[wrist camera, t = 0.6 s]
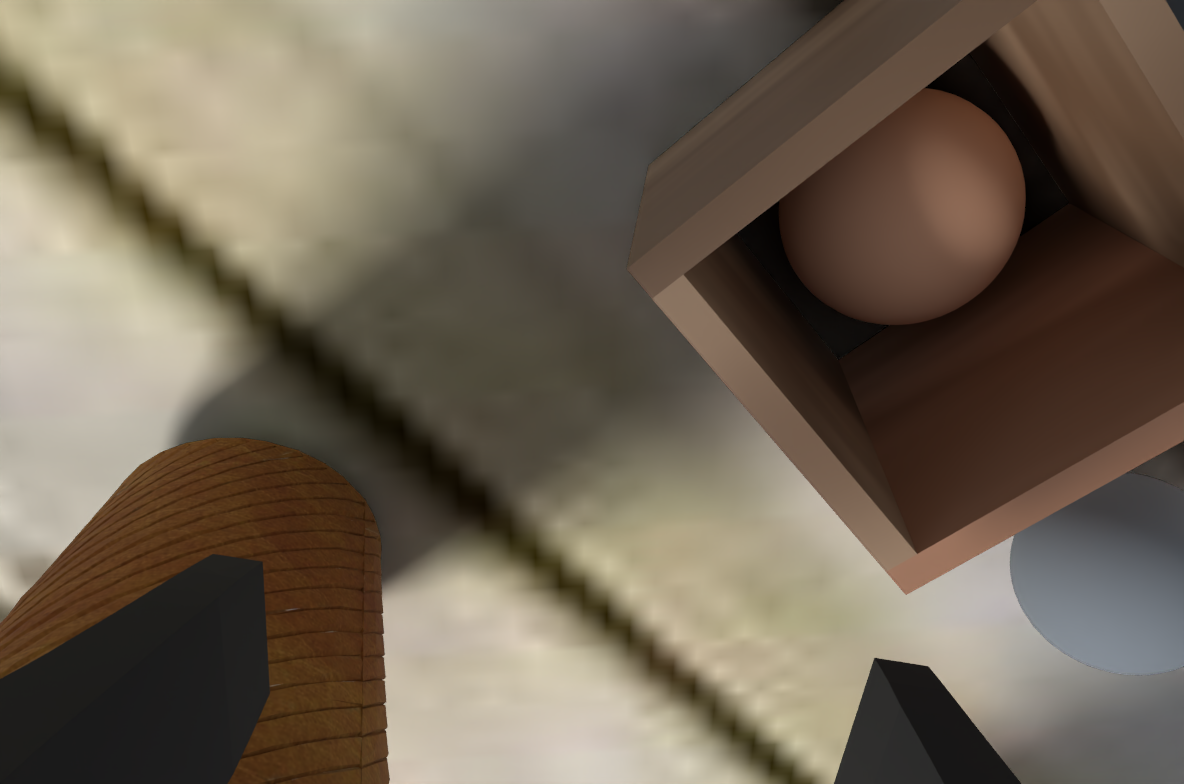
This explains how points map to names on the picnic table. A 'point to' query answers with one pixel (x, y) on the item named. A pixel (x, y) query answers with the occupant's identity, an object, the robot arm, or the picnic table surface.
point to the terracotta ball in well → (908, 214)
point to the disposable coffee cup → (291, 586)
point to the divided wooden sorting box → (987, 322)
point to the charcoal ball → (1108, 576)
